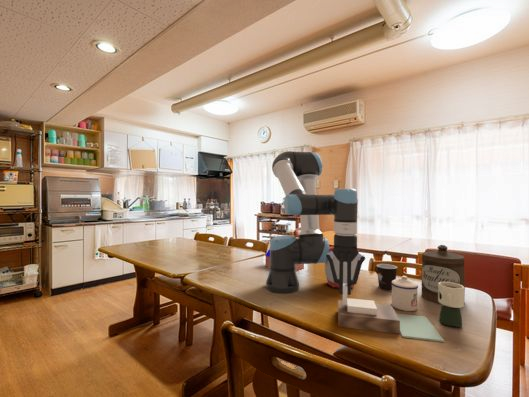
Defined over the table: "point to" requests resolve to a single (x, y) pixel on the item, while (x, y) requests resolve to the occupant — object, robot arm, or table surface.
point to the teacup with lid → (404, 294)
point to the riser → (370, 319)
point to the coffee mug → (386, 275)
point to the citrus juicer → (336, 265)
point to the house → (297, 267)
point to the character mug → (451, 303)
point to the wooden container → (440, 271)
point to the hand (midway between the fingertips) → (344, 303)
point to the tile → (361, 306)
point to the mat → (418, 328)
